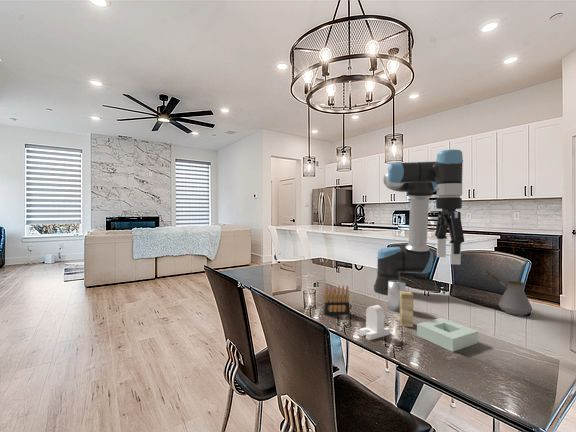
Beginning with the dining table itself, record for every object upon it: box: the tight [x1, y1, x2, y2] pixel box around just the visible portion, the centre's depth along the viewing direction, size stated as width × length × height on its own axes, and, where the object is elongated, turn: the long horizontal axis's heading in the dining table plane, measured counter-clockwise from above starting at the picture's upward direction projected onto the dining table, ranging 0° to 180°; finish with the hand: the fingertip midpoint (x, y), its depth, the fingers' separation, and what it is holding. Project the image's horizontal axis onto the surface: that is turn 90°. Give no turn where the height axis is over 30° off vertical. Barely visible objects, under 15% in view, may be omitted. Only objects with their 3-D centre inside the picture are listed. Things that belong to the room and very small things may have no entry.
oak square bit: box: [399, 291, 414, 328], centre depth 111 cm, size 4×4×12 cm
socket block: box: [416, 317, 479, 353], centre depth 98 cm, size 13×13×4 cm
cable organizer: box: [358, 304, 391, 341], centre depth 102 cm, size 5×10×10 cm, turn 119°
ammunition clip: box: [323, 284, 351, 316], centre depth 122 cm, size 11×2×12 cm, turn 93°
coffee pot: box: [483, 269, 533, 317], centre depth 128 cm, size 21×12×15 cm, turn 11°
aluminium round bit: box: [387, 280, 406, 313], centre depth 128 cm, size 7×7×12 cm
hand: (447, 260), depth 98 cm, fingers open, 13 cm apart
